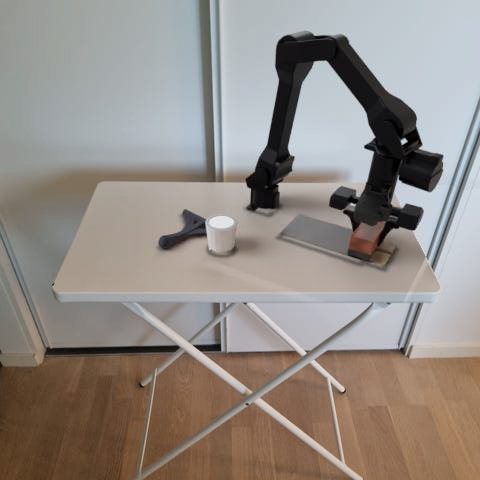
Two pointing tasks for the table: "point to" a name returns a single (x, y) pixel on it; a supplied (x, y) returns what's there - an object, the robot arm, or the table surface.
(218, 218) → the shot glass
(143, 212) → the table surface
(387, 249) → the cork bit
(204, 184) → the table surface
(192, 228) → the bracket
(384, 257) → the cork bit
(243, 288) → the table surface
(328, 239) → the board
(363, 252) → the reddish orange block
